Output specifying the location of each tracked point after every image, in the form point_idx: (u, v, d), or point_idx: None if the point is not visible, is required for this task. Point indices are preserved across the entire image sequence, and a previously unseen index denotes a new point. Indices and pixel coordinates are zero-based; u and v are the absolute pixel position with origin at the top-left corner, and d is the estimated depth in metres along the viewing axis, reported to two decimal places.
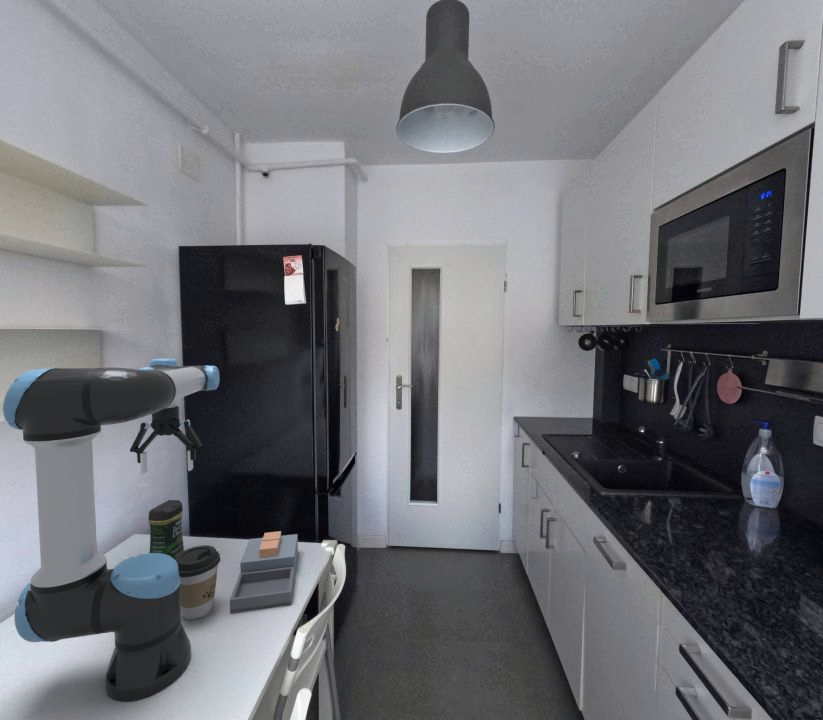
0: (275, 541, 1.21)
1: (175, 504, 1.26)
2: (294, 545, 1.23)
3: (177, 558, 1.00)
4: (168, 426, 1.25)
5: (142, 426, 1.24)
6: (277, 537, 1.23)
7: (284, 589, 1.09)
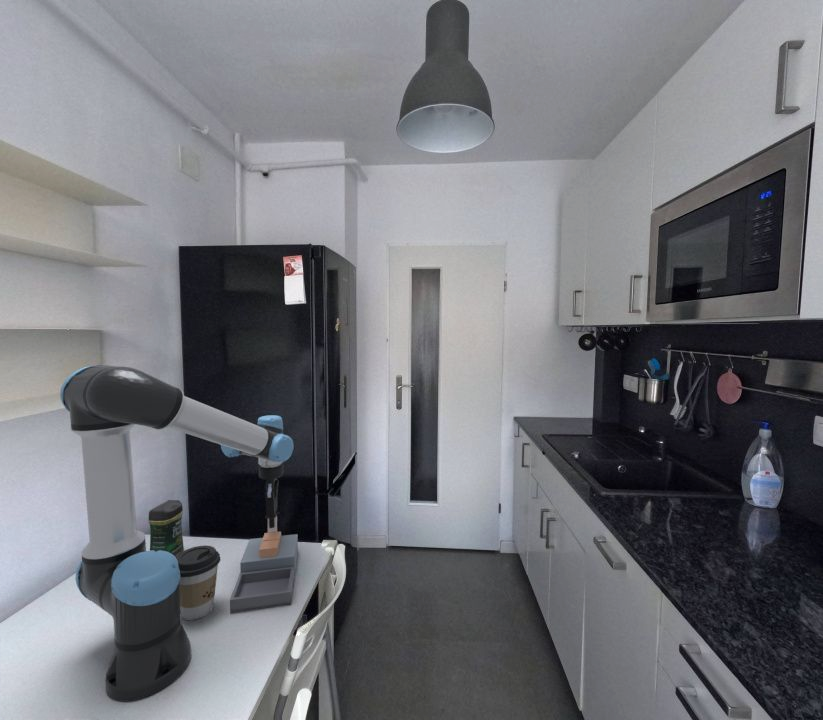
0: (275, 541, 1.21)
1: (175, 504, 1.26)
2: (294, 545, 1.23)
3: (177, 558, 1.00)
4: None
5: None
6: (277, 537, 1.23)
7: (284, 589, 1.09)
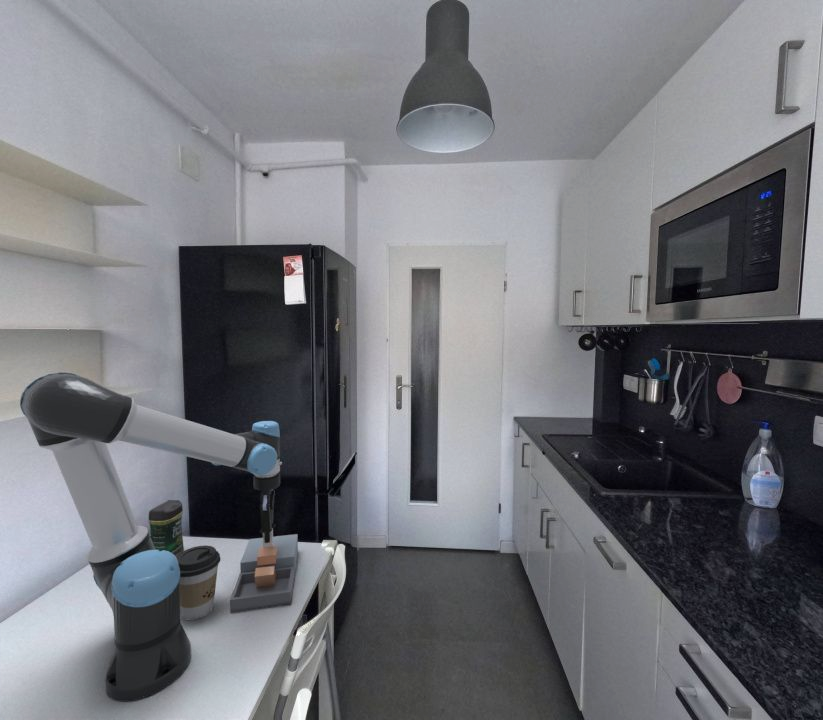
0: (270, 576, 1.09)
1: (175, 504, 1.26)
2: (294, 545, 1.23)
3: (177, 558, 1.00)
4: None
5: None
6: (273, 553, 1.14)
7: (284, 589, 1.09)
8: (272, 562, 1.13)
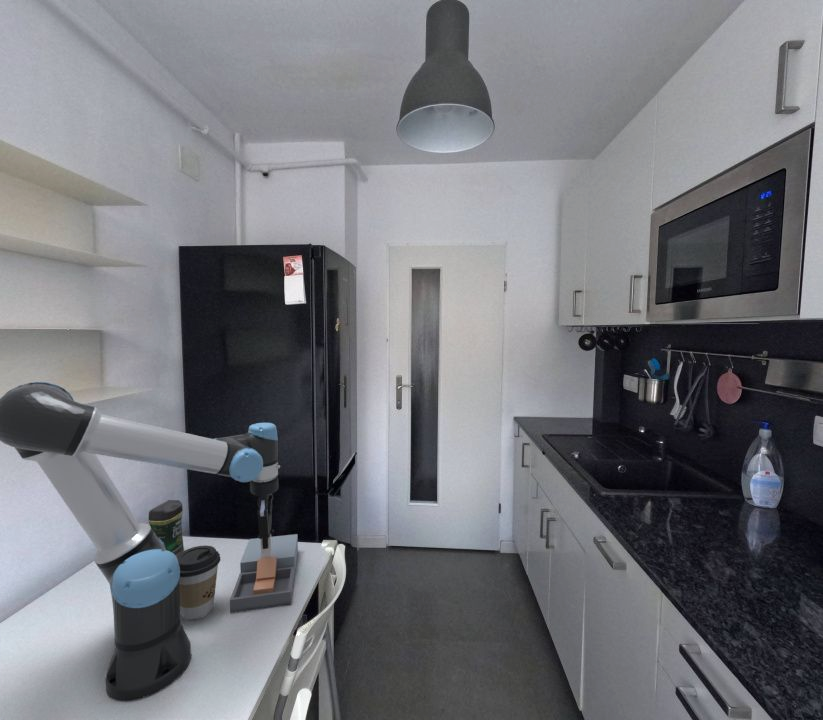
0: None
1: (175, 504, 1.26)
2: (294, 545, 1.23)
3: (177, 558, 1.00)
4: None
5: None
6: (273, 573, 1.10)
7: (284, 589, 1.09)
8: None
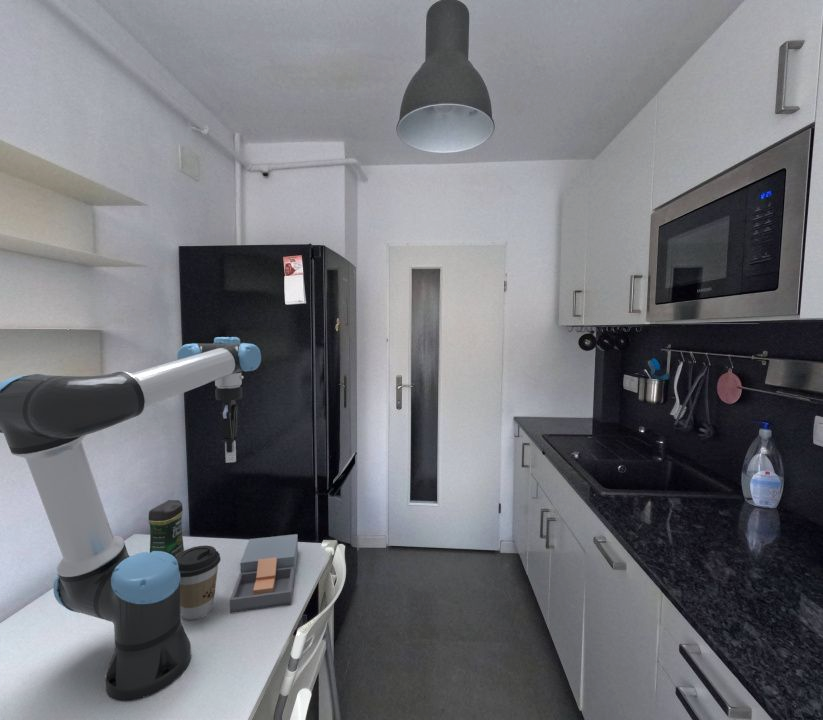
0: None
1: (175, 504, 1.26)
2: (294, 545, 1.23)
3: (177, 558, 1.00)
4: (221, 408, 1.20)
5: None
6: (273, 572, 1.11)
7: (284, 589, 1.09)
8: None
